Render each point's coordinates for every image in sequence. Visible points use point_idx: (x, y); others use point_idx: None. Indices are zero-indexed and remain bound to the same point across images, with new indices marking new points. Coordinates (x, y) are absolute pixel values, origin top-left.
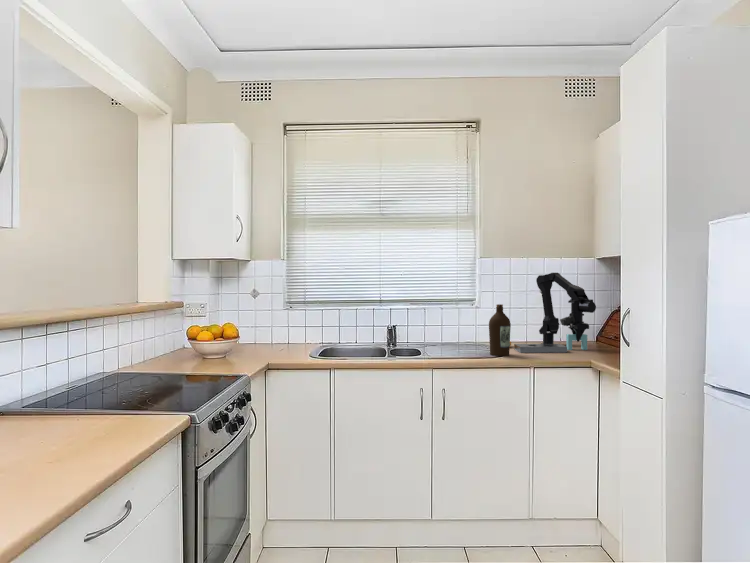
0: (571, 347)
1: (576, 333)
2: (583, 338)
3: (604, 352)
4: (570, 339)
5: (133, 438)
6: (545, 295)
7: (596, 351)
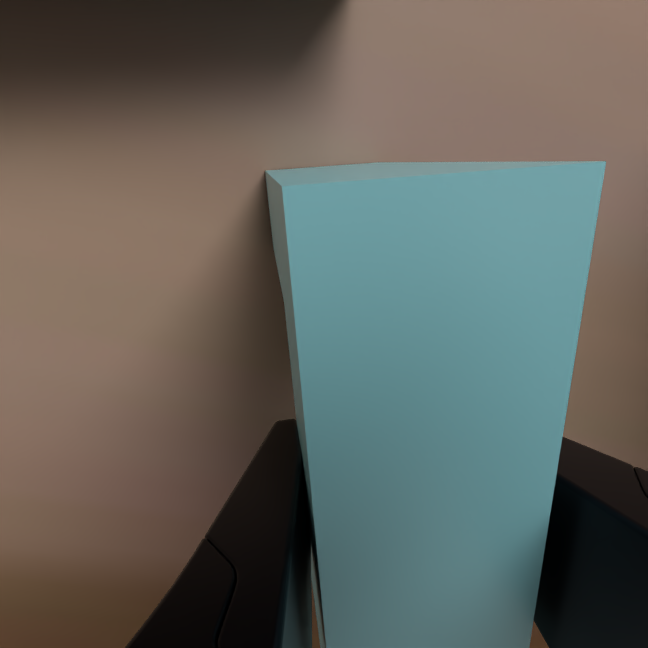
0: (273, 243)
1: (153, 620)
2: (317, 613)
3: (55, 636)
4: (279, 255)
5: None
6: None
7: (146, 565)
